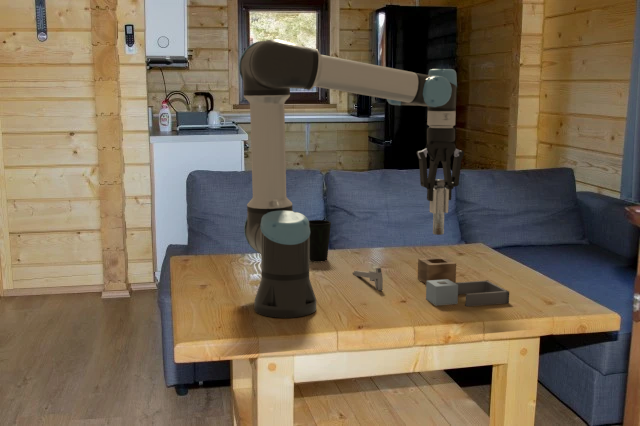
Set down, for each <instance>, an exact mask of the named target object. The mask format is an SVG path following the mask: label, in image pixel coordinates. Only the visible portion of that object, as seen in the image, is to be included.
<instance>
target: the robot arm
mask: <svg viewBox="0 0 640 426" xmlns="http://www.w3.org/2000/svg"><path fill="white" fill-rule="evenodd" d="M238 71H239V74H240V75H239V76H240V79H242V83H243V84H242V85H243V86H242V87H243V98H244V99H246V101H247V102H248V103H249V107H250V108H249V111H250V112H249V114H250V145H251V146H250V149H251V176H252V177H251V178H252V181H251V183H252V185H251V187H252V198H251V199H250V200H249V201H248V203H247V204H246V208H247V209H246V211H247V212H246V213H247V214H246V215H247V216H246V219H245V221H244V224H243V233H244V238H245V239H246V242H247V243H248V245H249V246H250V248H251V249H253V250H254V251H255V252H257V253H259V254H260V257H261V258H260V259H261V261H260V262H261V270H260V271H261V277H260V278H261V279H260V282H259V285H258V288H257V292H256V295H255V297H254V306H253V307H254V311H255V313H257V314H259V315H262V316H266V317H268V318H269V317H271V318H280V319H288V318H290V319H291V318H299V317H305V316H308V315H312V314H313V313H315V312H316V311H317V297H316V295H315V291H314V289H313V285H312V282H311V279H310V259H309V247H310V227H309V221H310V220H309V219H308V217H307V216H305V215H304V214H303V213H300V212H295V211H293V210H294V209H293V202H292V201H291V200H290V199H289V198H288V197H287V176H286V175H287V171H286V170H287V167H286V166H287V165H286V164H287V162H286V125H285V124H286V123H285V120H286V119H285V116H286V115H285V103H286V101H287V100H288V99H289V98H290V96H291V89H301V90H309V91H310V90H312V89H314V87H316V88H321V89H326V90H327V89H328V90H334V91H339V92H344V93H352V94H357V95H360V96H361V95H362V96H369V97H374V98H380V99H386V102H388V104H389V105H392V106H398V107H399V106H418V107H427V120H426V121H427V122H426V125H427V126H429V127H427V128H426V145H425V147H424V149H422V150H417V151H416V157H417V158H418V165H419V181H420V186H421V187H422V188H425V189H426V200H427V201H429V213H431V214H433V213H436V194H437V190H436V189H434V185H435V180H436V179H437V172H438V167H439V163H441V164H442V171H443V172H442V173H443V180H445V207H444V214H445V213H446V214H448V213H449V201H452V194H453V189H454V188H455V187H459V185H460V176H461V175H460V174H461V167H462V159H463V158H464V154H465V151H464V150H460V149H458V148H456V144H455V140H456V129H455V127H454V126H456V116H457V115H456V110H457V108H456V106H457V88H458V82H457V79H458V78H457V72H456V70H455V69H452V68H432V69H431V68H430V69H429V70H428V74H424V73H417V72H413V71H408V70H404V69H398V68H394V67H393V68H392V67H388V66H383V65H377V64H372V63H367V62H361V61H356V60H351V59H346V58H340V57H336V56H335V57H334V56H331V55H330V56H329V55H324V54H321V53H320V51H319V50H318V48H317V49H316V48H313V47H308V46H303V45H300V44H298V43H297V44H296V43H293V42H289V41H286V40H284V39H283V40H282V39H277V38H276V39H275V38H271V39H268V40H259V41H256V42H253V43H252V44H250V45H249V46H247V48H246V49H244V51H242V53H241V55H240V57H239V62H238ZM427 154H428V155H427ZM428 156H429V168H428V165H427V164H428V162H427V157H428ZM452 156H454V157H453V163H452V162H451V158H452ZM451 163H452V168H451Z"/></svg>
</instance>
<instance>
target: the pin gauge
mask: <svg viewBox="0 0 640 426" xmlns="http://www.w3.org/2000/svg"><path fill="white" fill-rule="evenodd" d="M445 188H446V187H445V180H444V179H440V178H439V179H437V178H436V179H435V185H434V189H436V190H437V194H436V213H432V214H433V215H432V216H433V217H432V234H433V235H437V236H438V235H439V236H441V235H444V233H445V229H444V228H445V212H444V207H445Z"/></svg>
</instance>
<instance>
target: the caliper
mask: <svg viewBox="0 0 640 426" xmlns="http://www.w3.org/2000/svg"><path fill="white" fill-rule="evenodd" d="M352 274H353V275H354V276H356V277H362V278H369V282H373V283H374V287H375V290H376V291H378V292H381V291H383V288H384V287H383V286H384V284H383V283H384V282H383V281H384V280H383V279H384V278H383V272H382V268H381V267H376V268H375V271H374V270H371V271H363V270H354V271H353V272H352Z"/></svg>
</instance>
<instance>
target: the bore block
mask: <svg viewBox="0 0 640 426" xmlns="http://www.w3.org/2000/svg"><path fill="white" fill-rule="evenodd" d="M444 279H448V280H450V281H452V282H454V283H457V281H456V280H457V262H454V261H453V260H451V259H448V258H446V257H444V256H441V257H427V258H426V257H424V258H417V280H418V281H420V282H422V283H423V284H425V285H426V281H429V280H444Z"/></svg>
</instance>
